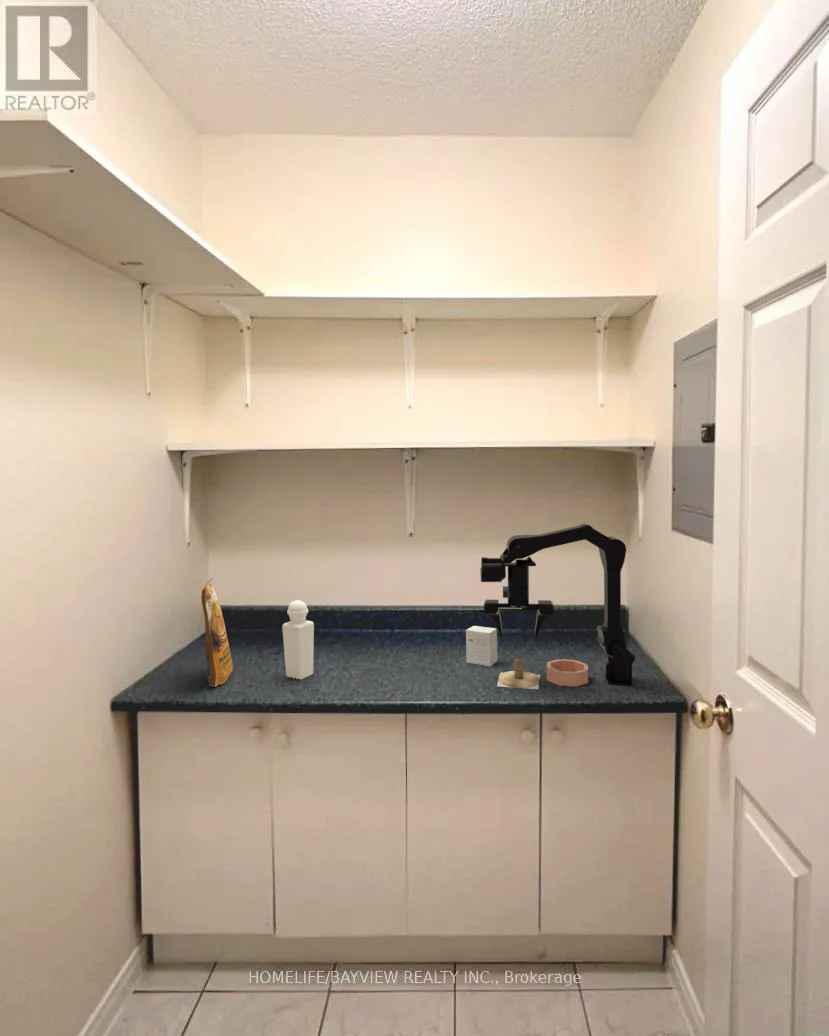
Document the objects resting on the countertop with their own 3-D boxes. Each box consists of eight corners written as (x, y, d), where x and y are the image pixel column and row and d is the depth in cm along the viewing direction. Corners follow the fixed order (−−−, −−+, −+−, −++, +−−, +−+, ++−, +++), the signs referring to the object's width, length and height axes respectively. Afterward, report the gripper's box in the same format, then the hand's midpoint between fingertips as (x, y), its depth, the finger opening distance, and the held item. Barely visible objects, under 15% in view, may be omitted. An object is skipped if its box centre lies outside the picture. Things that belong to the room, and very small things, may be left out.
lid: (539, 675, 173) (539, 655, 173) (538, 689, 163) (538, 667, 162) (500, 672, 176) (500, 652, 175) (496, 686, 165) (496, 665, 165)
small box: (497, 662, 186) (497, 628, 185) (490, 667, 181) (490, 632, 180) (473, 658, 190) (473, 625, 189) (465, 663, 185) (465, 629, 184)
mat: (539, 676, 173) (539, 674, 173) (538, 690, 163) (538, 689, 163) (500, 673, 176) (500, 672, 176) (496, 687, 165) (496, 686, 165)
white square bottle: (300, 680, 172) (298, 604, 170) (283, 676, 176) (280, 601, 174) (315, 673, 178) (313, 599, 176) (298, 670, 181) (296, 597, 179)
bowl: (586, 674, 174) (587, 660, 174) (588, 688, 164) (588, 674, 163) (547, 672, 177) (547, 658, 176) (546, 685, 166) (546, 671, 166)
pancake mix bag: (197, 691, 166) (192, 589, 163) (214, 668, 184) (209, 576, 182) (222, 690, 166) (218, 588, 164) (236, 667, 185) (232, 575, 182)
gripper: (551, 576, 174) (551, 630, 176) (485, 576, 177) (485, 629, 179) (553, 584, 163) (553, 641, 165) (483, 583, 166) (484, 640, 168)
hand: (518, 637), depth 169 cm, fingers open, 9 cm apart
